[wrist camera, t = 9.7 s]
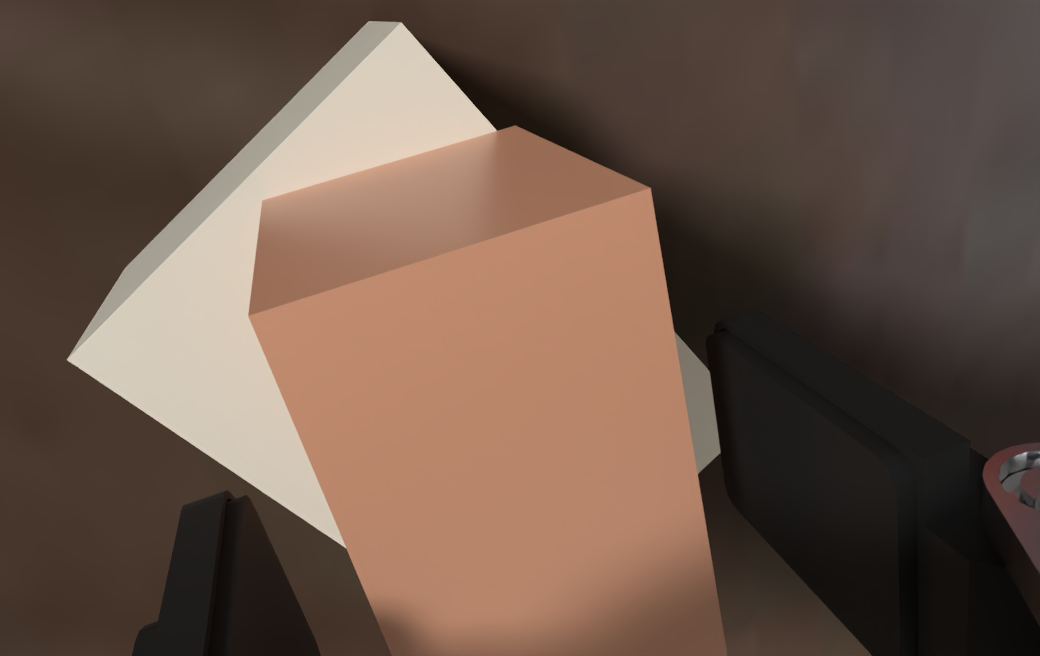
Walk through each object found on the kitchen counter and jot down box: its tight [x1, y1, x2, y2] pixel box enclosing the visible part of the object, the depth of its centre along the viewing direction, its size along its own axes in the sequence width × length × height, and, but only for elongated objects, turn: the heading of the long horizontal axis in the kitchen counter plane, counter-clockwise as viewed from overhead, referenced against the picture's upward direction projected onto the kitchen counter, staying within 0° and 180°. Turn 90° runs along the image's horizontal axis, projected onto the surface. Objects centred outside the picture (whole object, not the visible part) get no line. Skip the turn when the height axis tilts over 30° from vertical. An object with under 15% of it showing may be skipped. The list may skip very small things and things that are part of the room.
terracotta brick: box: [248, 126, 727, 656], centre depth 11 cm, size 7×4×5 cm, turn 14°
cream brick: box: [67, 21, 721, 548], centre depth 16 cm, size 10×7×5 cm
